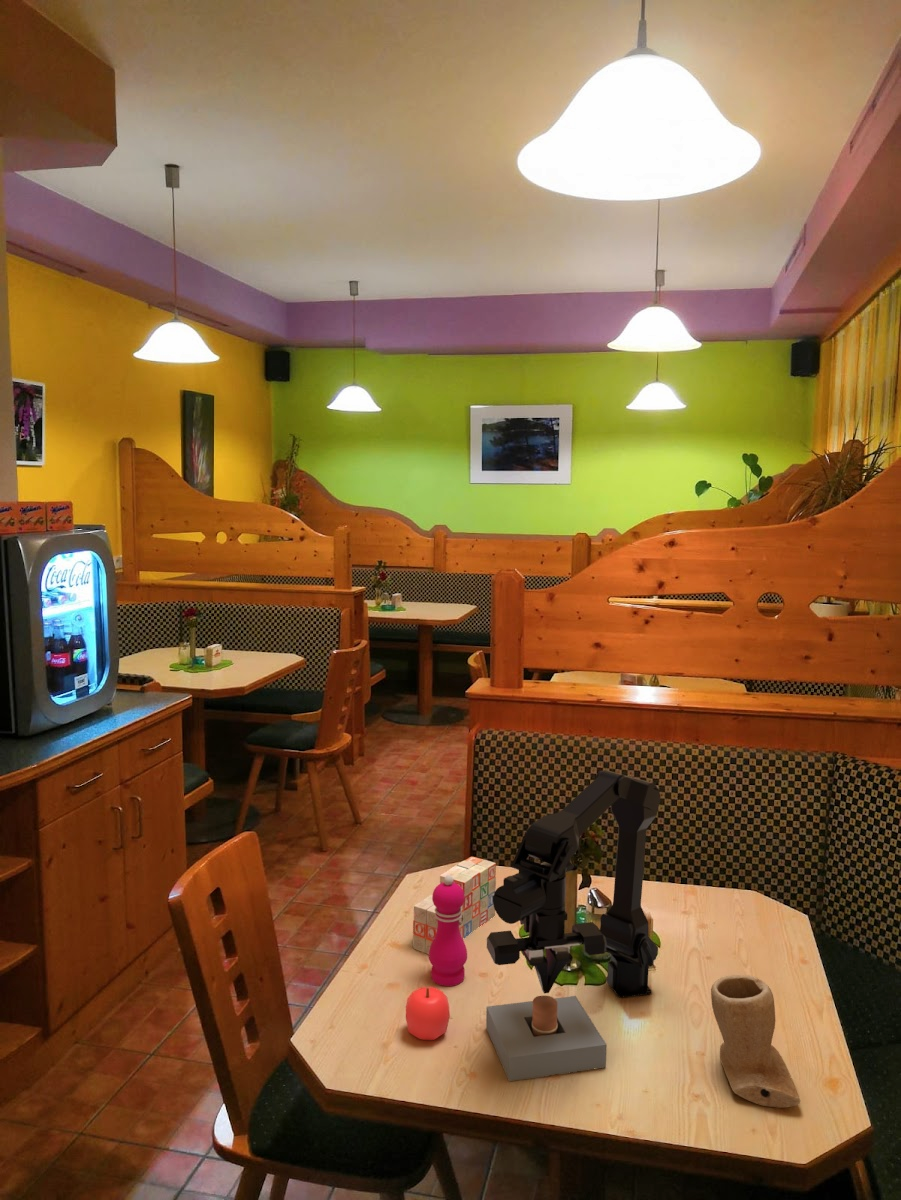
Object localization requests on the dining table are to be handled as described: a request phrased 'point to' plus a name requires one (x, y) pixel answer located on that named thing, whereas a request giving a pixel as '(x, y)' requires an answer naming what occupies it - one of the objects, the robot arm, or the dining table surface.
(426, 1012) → the apple
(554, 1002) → the peg
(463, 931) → the stack of blocks
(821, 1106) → the dining table surface
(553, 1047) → the hole block
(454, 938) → the pepper mill
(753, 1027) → the clay pipe bowl
